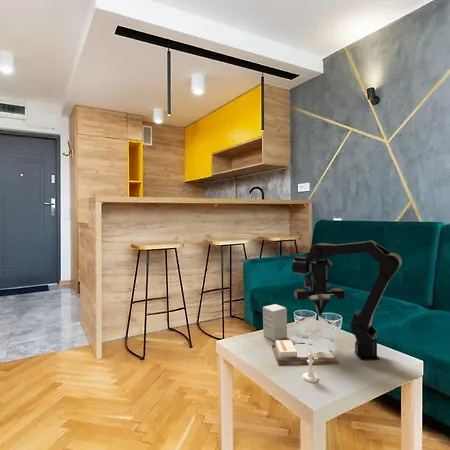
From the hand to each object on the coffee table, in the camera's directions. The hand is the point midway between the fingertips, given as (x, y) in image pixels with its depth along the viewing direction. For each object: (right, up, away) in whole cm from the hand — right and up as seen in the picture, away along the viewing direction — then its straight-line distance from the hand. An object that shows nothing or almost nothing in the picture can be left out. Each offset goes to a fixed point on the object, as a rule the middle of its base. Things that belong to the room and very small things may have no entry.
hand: (319, 315), depth 129 cm
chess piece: (-10, -14, -24) cm, 29 cm away
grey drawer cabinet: (-16, -12, +10) cm, 23 cm away
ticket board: (-8, -13, -7) cm, 16 cm away
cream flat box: (-15, -12, -8) cm, 20 cm away
